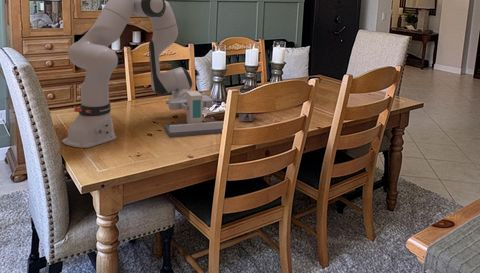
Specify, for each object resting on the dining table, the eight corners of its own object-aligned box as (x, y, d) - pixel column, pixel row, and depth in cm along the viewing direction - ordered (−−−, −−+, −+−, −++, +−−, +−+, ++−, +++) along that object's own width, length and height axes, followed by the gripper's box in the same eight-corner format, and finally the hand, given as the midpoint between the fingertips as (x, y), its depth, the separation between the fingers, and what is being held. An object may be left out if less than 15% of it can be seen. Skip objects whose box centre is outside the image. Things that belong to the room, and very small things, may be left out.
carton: (191, 127, 218) (191, 95, 213) (186, 121, 225) (186, 91, 220) (202, 126, 219) (202, 95, 215) (197, 120, 227) (197, 90, 222)
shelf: (170, 137, 213) (169, 126, 211) (164, 128, 224) (164, 118, 222) (225, 132, 221) (225, 121, 220) (217, 124, 232) (217, 114, 230)
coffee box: (242, 116, 246) (243, 84, 241) (255, 117, 245) (256, 85, 240) (238, 121, 238) (239, 88, 233) (251, 122, 237) (253, 89, 231)
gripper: (164, 94, 227) (171, 102, 215) (207, 92, 234) (216, 99, 222) (164, 107, 229) (171, 116, 217) (207, 105, 236) (216, 113, 224)
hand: (194, 107), depth 219 cm, fingers closed on carton, 5 cm apart
